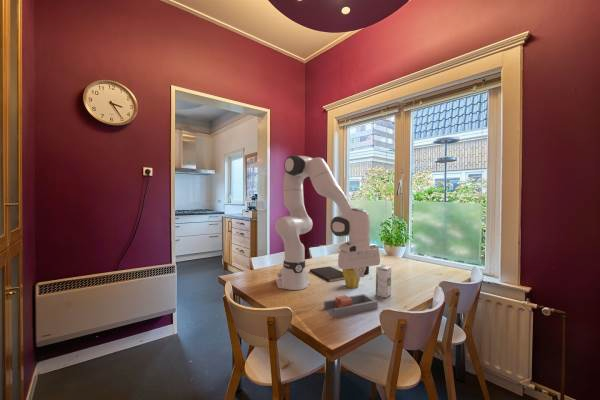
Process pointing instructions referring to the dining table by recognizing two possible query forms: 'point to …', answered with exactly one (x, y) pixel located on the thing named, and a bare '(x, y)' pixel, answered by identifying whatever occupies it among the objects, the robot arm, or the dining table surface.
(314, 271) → the hardcover book
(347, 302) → the red block
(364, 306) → the channel
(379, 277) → the syrup box
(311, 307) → the dining table surface
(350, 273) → the plant pot
